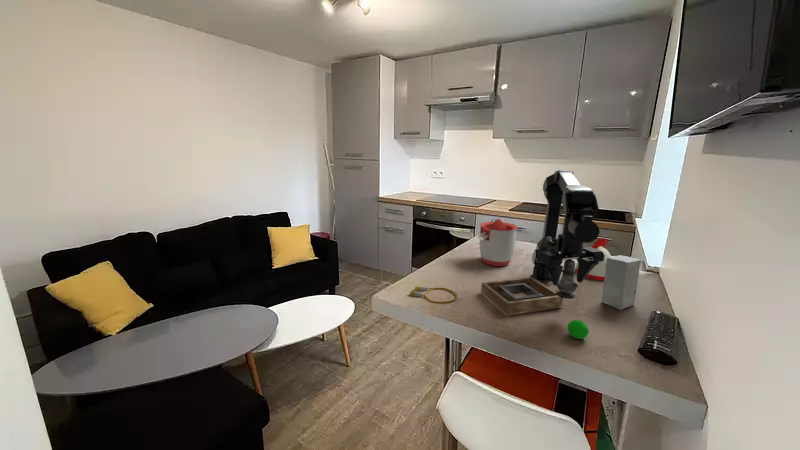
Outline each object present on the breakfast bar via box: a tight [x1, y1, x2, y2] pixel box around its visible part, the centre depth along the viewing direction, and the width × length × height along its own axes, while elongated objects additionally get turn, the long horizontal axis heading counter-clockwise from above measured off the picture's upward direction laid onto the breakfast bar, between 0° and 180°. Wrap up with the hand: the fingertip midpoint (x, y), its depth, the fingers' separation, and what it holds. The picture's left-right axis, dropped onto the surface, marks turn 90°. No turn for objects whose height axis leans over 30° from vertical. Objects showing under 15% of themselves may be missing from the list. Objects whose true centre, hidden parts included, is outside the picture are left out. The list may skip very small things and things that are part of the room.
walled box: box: [480, 276, 564, 316], centre depth 108 cm, size 20×16×4 cm
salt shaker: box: [555, 259, 579, 300], centre depth 94 cm, size 6×6×12 cm
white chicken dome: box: [574, 237, 612, 281], centre depth 130 cm, size 14×14×15 cm
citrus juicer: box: [477, 218, 518, 267], centre depth 142 cm, size 16×17×20 cm
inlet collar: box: [498, 283, 544, 302], centre depth 108 cm, size 10×10×3 cm
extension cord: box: [409, 285, 458, 304], centre depth 112 cm, size 12×16×2 cm
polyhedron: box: [566, 319, 589, 340], centre depth 87 cm, size 5×5×5 cm
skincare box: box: [601, 254, 642, 311], centre depth 104 cm, size 8×7×16 cm
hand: (566, 283), depth 95 cm, fingers closed on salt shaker, 8 cm apart
